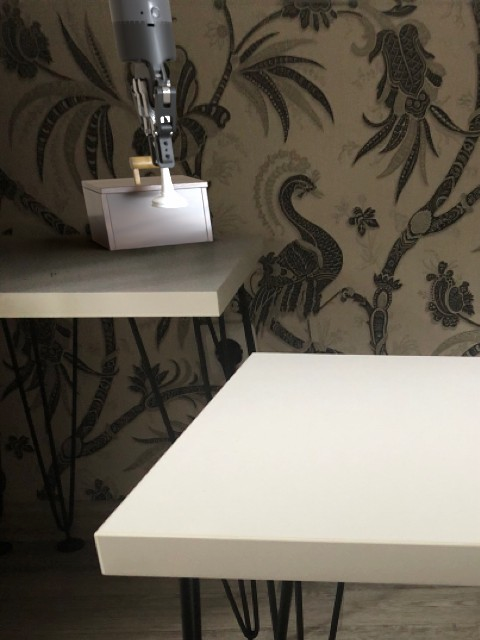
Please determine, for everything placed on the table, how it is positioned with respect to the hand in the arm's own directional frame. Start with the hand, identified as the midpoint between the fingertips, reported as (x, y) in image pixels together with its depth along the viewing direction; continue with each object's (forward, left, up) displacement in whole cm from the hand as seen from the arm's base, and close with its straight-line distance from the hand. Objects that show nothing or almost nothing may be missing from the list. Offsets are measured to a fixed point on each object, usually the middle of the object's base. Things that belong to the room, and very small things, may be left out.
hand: (163, 166), depth 127 cm
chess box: (0, +13, -12) cm, 18 cm away
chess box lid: (0, +12, -4) cm, 13 cm away
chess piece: (0, 0, -5) cm, 5 cm away
